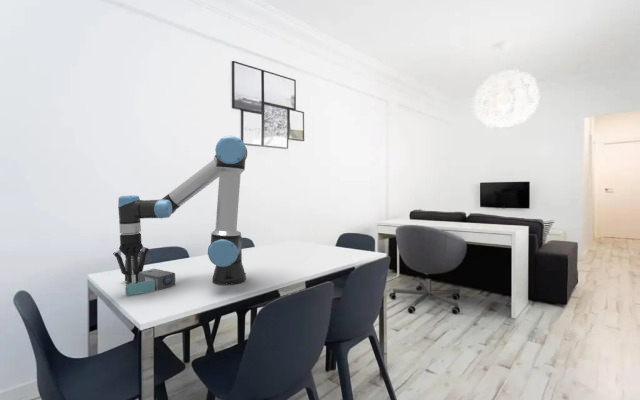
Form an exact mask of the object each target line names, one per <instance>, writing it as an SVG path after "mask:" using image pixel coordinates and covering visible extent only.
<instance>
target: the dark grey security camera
mask: <svg viewBox="0 0 640 400" xmlns="http://www.w3.org/2000/svg"><path fill="white" fill-rule="evenodd" d="M155 279H158V289H157V290H158V291H160V290H162V289H166V288H169V287H174V286H176V273H175V272H173V271H169V270H163V269H159V268H151V269H146V270H143V271H142V272H139V274H138V281H137V283H138V282H144V281H149V280H155ZM157 290H156V291H157Z"/></svg>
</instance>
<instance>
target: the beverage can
mask: <svg viewBox="0 0 640 400" xmlns="http://www.w3.org/2000/svg"><path fill="white" fill-rule="evenodd" d="M139 261H140V257H139V255H138V265H139ZM124 266H125V269H126V259H125V260H124ZM131 267H132V274H134V273H133V258H132V256H131ZM124 282H126V283H128V281H127V275H124Z"/></svg>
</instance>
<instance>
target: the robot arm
mask: <svg viewBox="0 0 640 400" xmlns="http://www.w3.org/2000/svg"><path fill="white" fill-rule="evenodd" d="M214 150H215V155H214V156H213V159H212V161H210V162H208V163H207V164H205V166H203V167H201V169H199V170H198V171H197V172H195V173H194V174H192V175H191V176H190V177H189V178H187V179H186V180H185V181H183V182H182V183H181V184H179V185H178V186H177V187H175V188H174V189H173V190H172V191H170V192H169V193H168V194H166V195H165V196H164V197H162V198H161V199H146V200H145V199H140V196H139V195H135V194H134V195H133V194H132V195H121V196H119V197H118V201H117V202H118V206H117V209H118V219H119V222H118V223H119V244H120V245H119V248H118V250H116V251H115V252H113V253H112V254H113V256H114V257H115V259H116V262H117V264H118V267H119V269H120V272H121V274H122V275H124V276H125V275H127V281H128V282H127V283H128V284H133V283H138V274H139V272H142V271H144V267H145V261H146V259H147V257H146V256H147V253H148V252H149V251H150V249H149V248H148V247H145V246H143V244H142V233H141V232H142V227H141V225H142V224H141V219H168V218H170V217H171V216H172V214H174V213H175V212H176V211H177V209H179V208H180V207H181V206H183V205H184V204H185V203H187V202H189V200H191V199H192V198H194V196H196V195H198V194H199V193H200V192H201V191H203V189H206V187H207V186H209V185H210V184H212V183H213V182H214V181H216V180H217V179H218V187H217V188H218V191H217V201H216V202H217V203H216V205H217V206H216V219H215V229H213V231H212V232H210V233H211V235H210V245H209V247H208V251H207V252H208V253H207V255H208V260H209V261H210V262H211V263H212V264H213V265H214V266H215V267H214V272H213V274H212V278H211V279H212V280H211V281H212V283H213V284H214V285H218V286H219V285H220V286H228V285H237V284H241V283H243V282H245V281H246V280H247V275H246V272H245V268H244V265H243V262H242V261H243V257H242V250H243V249H242V239H243V236H242V233H241V231H238V229H237V226H238V213H239V202H240V189H241V188H240V186H241V185H240V184H241V175H242V173H243V172H245V167H246V160H247V158H248V148H247V147H246V145H245V142H244V141H243V140H242V139H241V138H240V137H237V136H235V135H227V136H224V137H222V138H220V139H219V140H218V141H217V143H216V146H215V149H214ZM140 252H141V254H140ZM122 254H123V255H124V257H125V260H126V269H125V262H124V261H123V258H122ZM139 254H140V257H139V258H140V261H139V265H138V256H139ZM131 257H132V258H133V273H134V274H132V267H131Z"/></svg>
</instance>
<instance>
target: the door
mask: <svg viewBox="0 0 640 400" xmlns="http://www.w3.org/2000/svg"><path fill="white" fill-rule="evenodd" d="M124 289H125V296H126V297H129V296H133V295H136V294H137V295H138V294H141V293H142V294H143V293H146V292H151V291H155V290H156V291H157V289H158V279H155V280H149V281H144V282H138V281H137V282H136V283H133V284H130V283H128V284H125V287H124Z"/></svg>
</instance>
